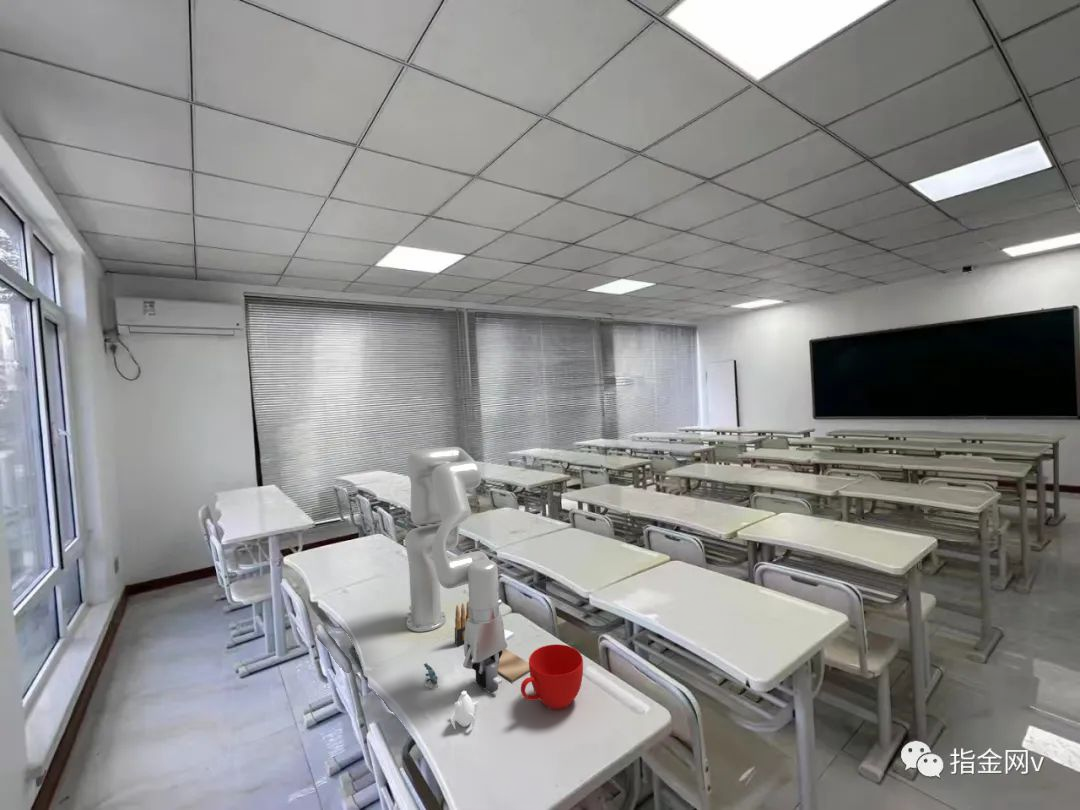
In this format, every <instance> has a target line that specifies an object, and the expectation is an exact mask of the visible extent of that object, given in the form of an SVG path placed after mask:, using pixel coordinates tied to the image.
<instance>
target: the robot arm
mask: <svg viewBox="0 0 1080 810" xmlns="http://www.w3.org/2000/svg"><path fill="white" fill-rule="evenodd" d="M405 465H406V471H407V474H408V478H409V481H410V518H411V522H412V523H413V524H414V525H417V526H418V527H415V528H412V529H411V530H410V531H408V532H407V534H406V535H405V537H404V545H405V550H406V554H407V555H406V556H407V559H408V569H409V570H408V572H409V573H408V574H409V575H408V576H409V596H410V597H409V598H410V606H409V608H408V610H409V611H410V616H409V617H408V619H407V620H406V627H407V629H408V630H410V631H413V632H416V633H417V632H421V633H422V632H423V633H424V632H429V631H433V630H435V629H438V628H440V627H441V626H443V625H444V624H445V622H446V621H447V615H446V614H445V612H443V611H442V609H441V608H442V607H441V587H443V588H445V589H449V590H450V589H454V588H457V587H461V586H465V585H467V584H468V588H467V589H468V601H469V614H470V617H469V618H468V619H467V621H466V627H465V637H464V645H463V653H464V657H465V659H464V661H463V667H464V668H465V669H467V670H469V669H470V670H474V671H475V683H476V684H477V686H479V687H481V688H482V689H483V690H485V689H484V688H485V687H486V677H485V672H484V671H483V669H484V660H485V659H487V658H490V659H492V660H493V661H495V662H496V663H497V665H498V664H499V659H500V657H501V655H502V652H503V651H504V650H505V649H506V650H507V647H508V644H507V643H508V642H507V641H506V642H505V633H504V629H505V626H504V619H503V616H502V612H501V611H500V605H502V604H503V603H502V600H501V599H500V597H499V594H500V593H499V574H498V573H499V572H498V565H497V563H496V562H495V561H494V560H492V559H490V558H489V557H488V556H487V554H486V553H485V552H483V551H482V550H481V551H480V550H477V551H476V550H475V551H472V552H467V553H463V554H460V555H455V556H451V557H448V554H447V552H448V551H452V550H454V549H455V548H456V547H457V546H458V544H459V539H460V524H462V523H463V522H465V521H466V520H467V519H468V518H469V517H470V516H471V515H472V509H471V506H470V502H469V499H468V495H467V491H466V490H473V489H476V488H478V487H479V486H480V485H481V483H482V472H481V470H480V469H481V468H480V467H479V465H478V464H477V462H476V460H475V459H474V458H473V457H472V456H471V455H469V454H468V453H467V451H465V450H464V449H463V448H462V447H459V446H448V447H447V446H446V447H435V448H434V447H433V448H426V449H425V448H424V449H418V450H415V451H412V452H410V453H409V454H408V455H407V458H406V464H405ZM478 663H479V666H478ZM497 673H498V667H497ZM498 674H499V673H498Z"/></svg>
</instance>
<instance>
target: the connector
mask: <svg viewBox="0 0 1080 810" xmlns="http://www.w3.org/2000/svg"><path fill="white" fill-rule="evenodd" d="M478 666H479V663H478ZM483 671H484V672H485V677H486V687H485V688H484V689H483V690H485V691H486V692H488V693H495V692H496V691H497V690H498V689H499V685H500V684H502V683H503V680H502V679H501V678H500V677H498V676H499V673H497V663H496V662H495V661H493V660H492V659H490V658H487V659H485V660H484V669H483Z"/></svg>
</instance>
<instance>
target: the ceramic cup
mask: <svg viewBox="0 0 1080 810" xmlns="http://www.w3.org/2000/svg"><path fill="white" fill-rule="evenodd" d="M583 659H584V658H583V656H582V654H581V652H580V651H579V650H577V649H576V648H574V647H572V646H569V645H567V644H549V645H548V644H547V645H543V646H541V647H539V648H537V649H535V650H534V651H533V652H531V654H530V656H529V658H528V663H529V670H530V672H529V677H526V678H525V679H523V681H522V682H521V684H520V693H521V696H523V697H524V698H525V699H526V700H528V701H529V700H530V701H535V700H540V701H541V702H542V703H543V704H544V705H545V707H547V708H549V709H551V710H556V711H557V710H564V709H566V708H567V707H569V706H570V705H571V704H572V702H573V701H574V700H575V699H576V697H577V696H578V693H579V691H580V689H581V686H582V682H583V681H582V680H583V675H584V672H583V671H584V660H583ZM530 683H531V684H532V687H533V691H534V692H535V694H532V695H531V694H529V695H528V694H527V693H526V688H527V686H528V684H530Z"/></svg>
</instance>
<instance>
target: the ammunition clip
mask: <svg viewBox="0 0 1080 810" xmlns="http://www.w3.org/2000/svg"><path fill="white" fill-rule="evenodd" d="M460 607H461V609H460ZM469 617H470V614H469V600H467V603H466V607H465V604H464V602H462V603H461V606H459V604H457V605H456V607H455V618H454V622H455V624H454V625H455V627H454V645H455V646H456V647H457V648H459V647H461V646H464V637H465V627H466V621H467V619H468V618H469Z"/></svg>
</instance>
